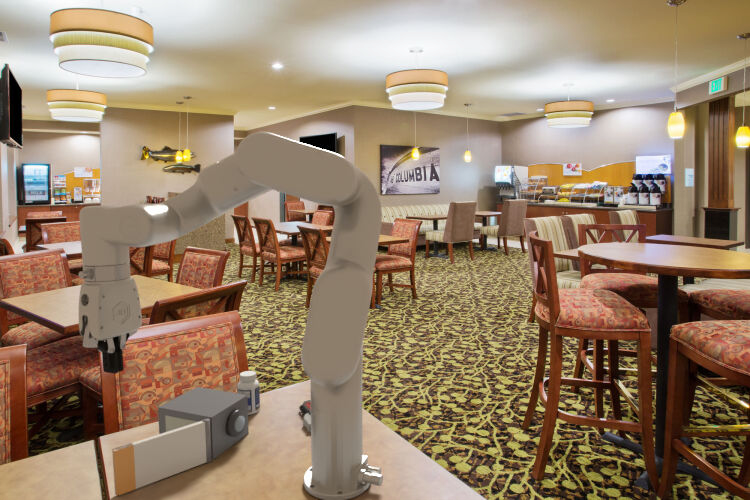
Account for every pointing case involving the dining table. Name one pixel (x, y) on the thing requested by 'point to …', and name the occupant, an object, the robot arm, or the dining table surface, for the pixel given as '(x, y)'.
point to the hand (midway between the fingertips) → (113, 371)
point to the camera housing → (208, 415)
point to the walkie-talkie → (306, 414)
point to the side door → (161, 456)
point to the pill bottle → (250, 390)
